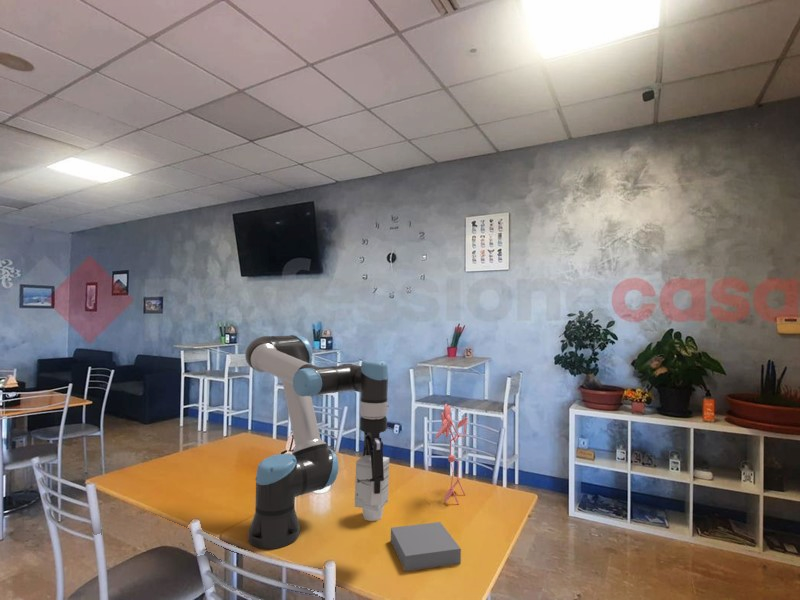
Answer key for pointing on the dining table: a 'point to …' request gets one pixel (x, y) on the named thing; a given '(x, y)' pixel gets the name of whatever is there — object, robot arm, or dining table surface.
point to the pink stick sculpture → (445, 428)
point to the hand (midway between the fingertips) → (371, 496)
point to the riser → (425, 546)
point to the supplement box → (369, 483)
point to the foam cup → (372, 514)
